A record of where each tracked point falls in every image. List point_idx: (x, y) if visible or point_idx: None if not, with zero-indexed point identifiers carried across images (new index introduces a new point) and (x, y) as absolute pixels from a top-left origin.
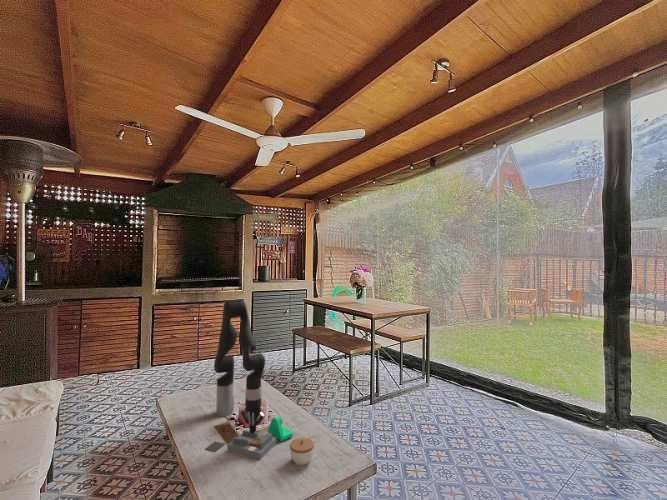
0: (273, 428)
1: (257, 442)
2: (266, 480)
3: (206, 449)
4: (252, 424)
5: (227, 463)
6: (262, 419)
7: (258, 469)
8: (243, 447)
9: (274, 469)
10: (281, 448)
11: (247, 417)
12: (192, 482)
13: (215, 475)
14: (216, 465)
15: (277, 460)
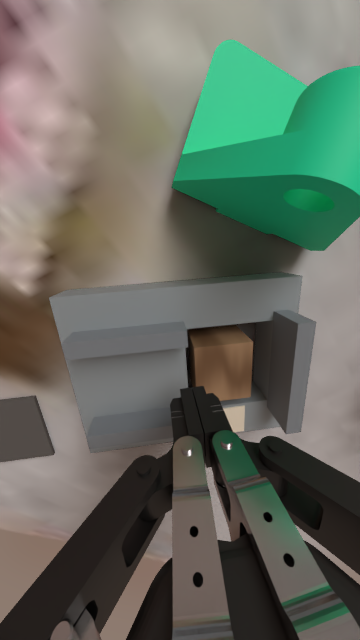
0: (257, 206)
1: (235, 387)
2: (341, 463)
3: (1, 460)
4: (221, 485)
5: None
6: (357, 486)
7: (292, 442)
8: None
9: (347, 417)
10: (322, 294)
11: (112, 520)
12: None
13: None
14: None
15: (338, 374)
